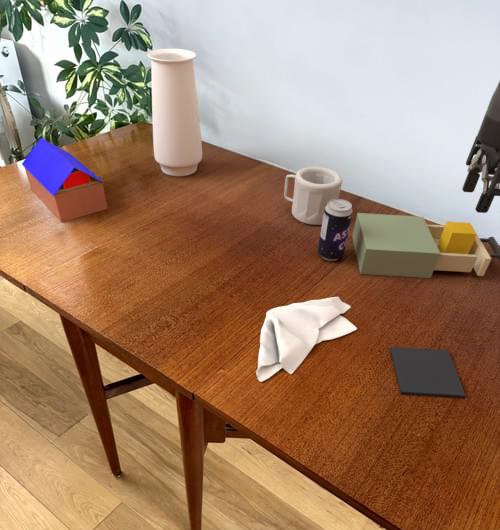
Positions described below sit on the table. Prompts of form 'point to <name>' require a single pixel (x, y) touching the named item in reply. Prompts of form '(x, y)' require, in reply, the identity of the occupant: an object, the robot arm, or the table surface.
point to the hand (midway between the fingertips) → (473, 201)
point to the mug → (313, 193)
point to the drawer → (465, 262)
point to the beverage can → (335, 229)
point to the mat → (426, 372)
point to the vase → (175, 111)
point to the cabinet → (394, 245)
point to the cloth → (298, 333)
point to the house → (63, 182)
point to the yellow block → (457, 238)
